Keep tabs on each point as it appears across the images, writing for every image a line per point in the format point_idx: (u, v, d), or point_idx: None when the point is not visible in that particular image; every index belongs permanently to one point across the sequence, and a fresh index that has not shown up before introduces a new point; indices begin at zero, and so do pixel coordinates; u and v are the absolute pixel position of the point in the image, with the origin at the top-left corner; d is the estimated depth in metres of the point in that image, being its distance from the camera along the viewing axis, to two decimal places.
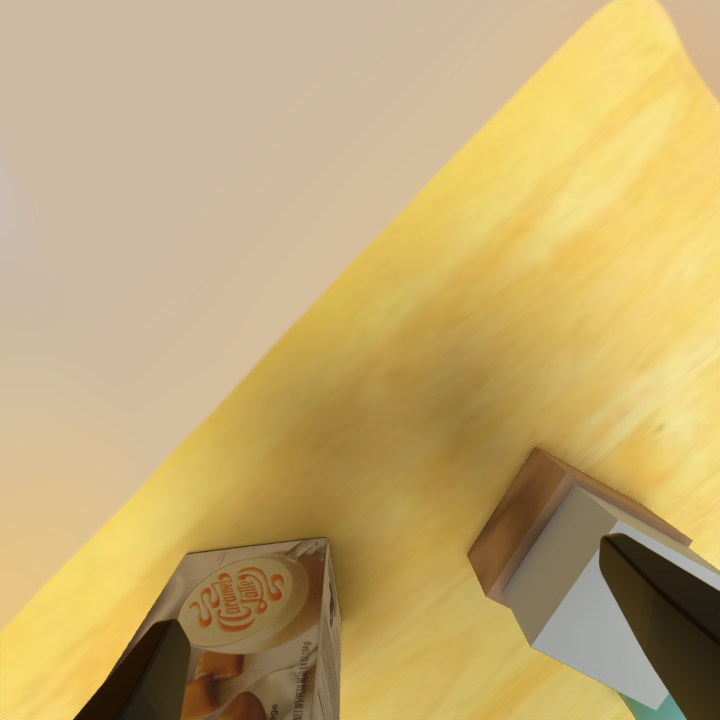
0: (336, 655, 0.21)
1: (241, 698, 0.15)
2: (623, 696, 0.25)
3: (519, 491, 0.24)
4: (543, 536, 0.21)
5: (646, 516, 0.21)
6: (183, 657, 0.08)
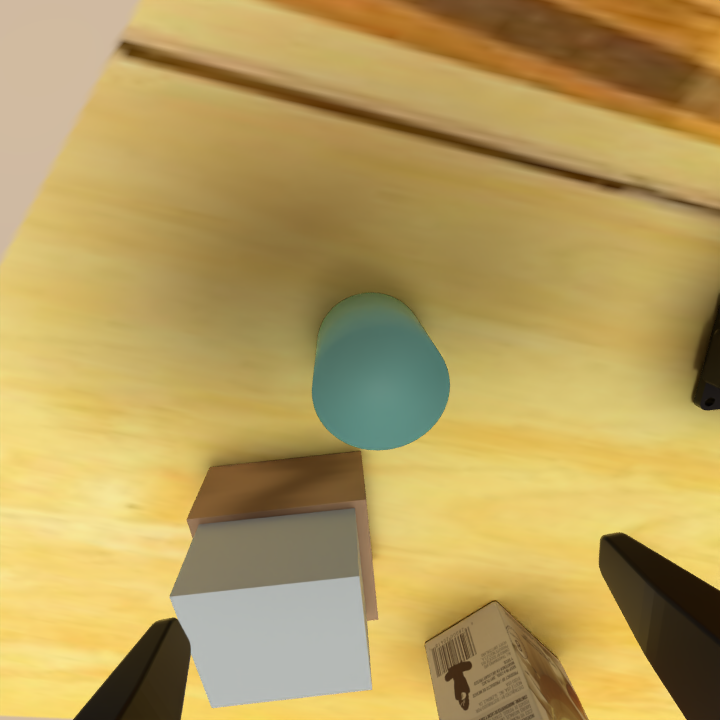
0: (493, 686, 0.23)
1: None
2: None
3: None
4: None
5: None
6: (183, 657, 0.08)
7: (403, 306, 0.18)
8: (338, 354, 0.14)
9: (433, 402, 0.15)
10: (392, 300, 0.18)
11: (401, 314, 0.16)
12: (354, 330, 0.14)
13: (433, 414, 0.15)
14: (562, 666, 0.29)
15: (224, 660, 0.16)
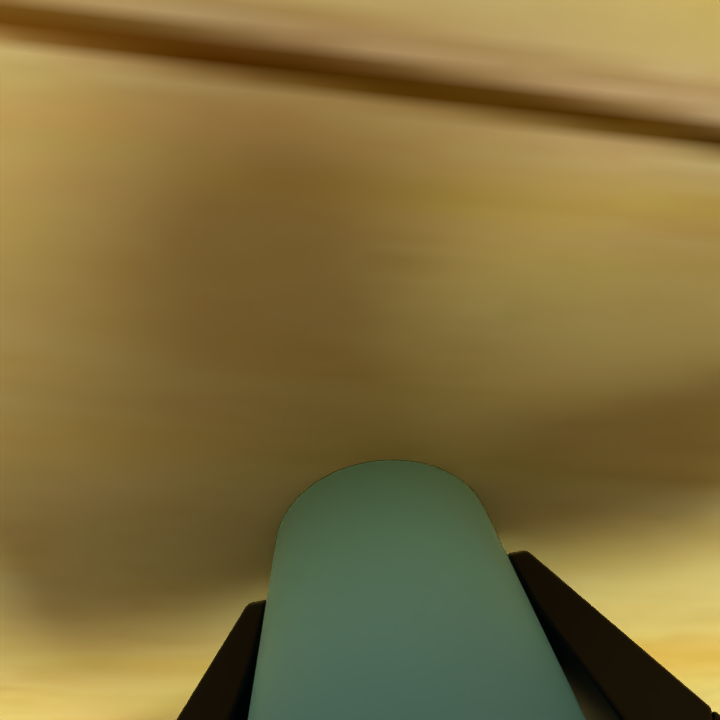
0: None
1: None
2: None
3: None
4: None
5: None
6: None
7: (452, 502, 0.08)
8: None
9: None
10: (425, 488, 0.08)
11: (462, 591, 0.06)
12: None
13: None
14: None
15: None
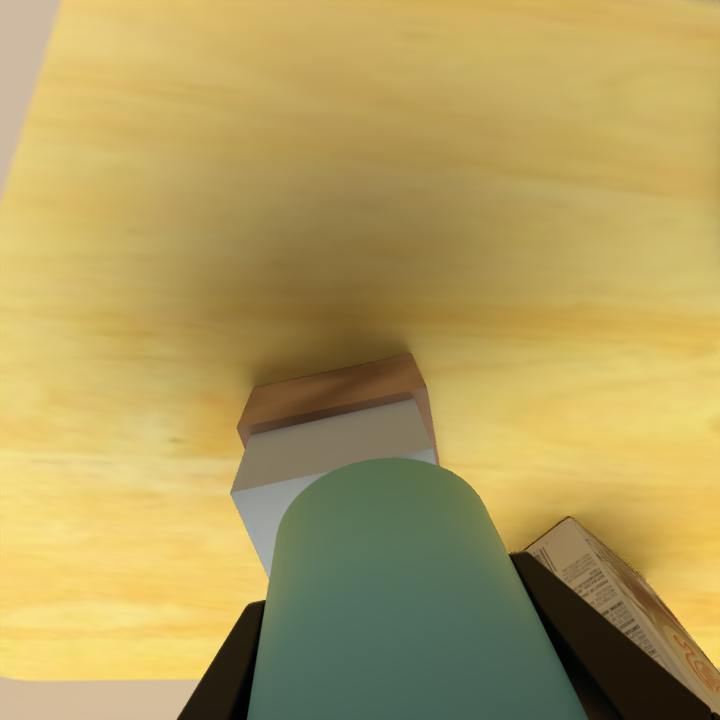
0: None
1: None
2: None
3: None
4: None
5: None
6: None
7: (452, 499, 0.08)
8: None
9: None
10: (425, 485, 0.08)
11: (462, 587, 0.06)
12: None
13: None
14: (650, 586, 0.26)
15: None
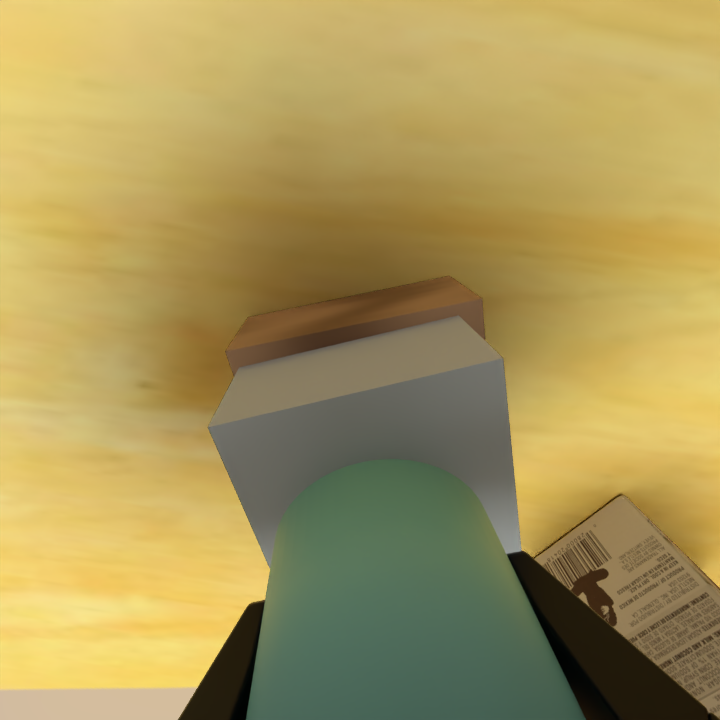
0: (650, 591, 0.17)
1: None
2: None
3: None
4: None
5: None
6: None
7: (451, 501, 0.08)
8: None
9: None
10: (424, 487, 0.08)
11: (461, 590, 0.06)
12: None
13: None
14: None
15: None
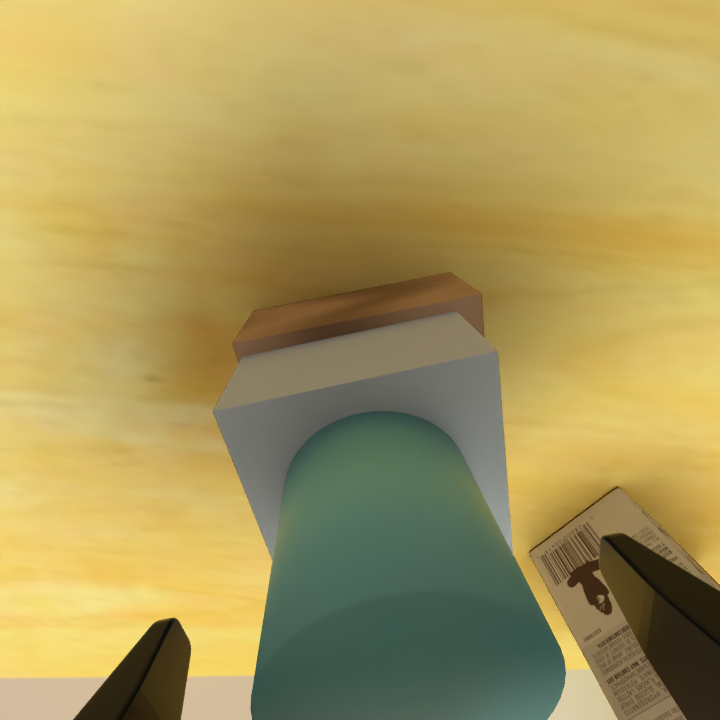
0: None
1: None
2: None
3: None
4: None
5: None
6: (183, 657, 0.08)
7: (431, 440, 0.09)
8: (298, 656, 0.06)
9: (529, 703, 0.07)
10: (410, 430, 0.09)
11: (434, 493, 0.07)
12: (330, 603, 0.06)
13: None
14: None
15: None
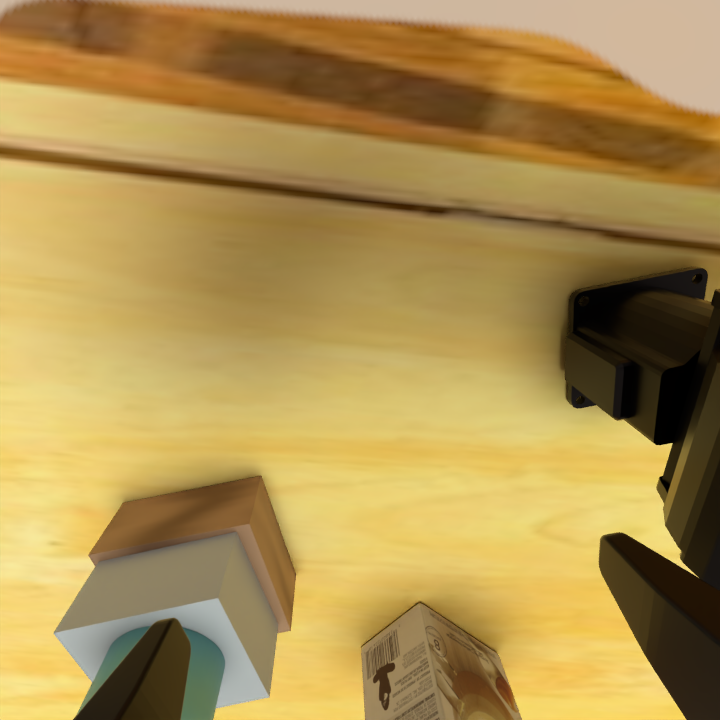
0: (409, 686, 0.24)
1: None
2: None
3: None
4: None
5: None
6: (183, 657, 0.08)
7: None
8: None
9: None
10: None
11: None
12: None
13: None
14: (499, 659, 0.30)
15: None
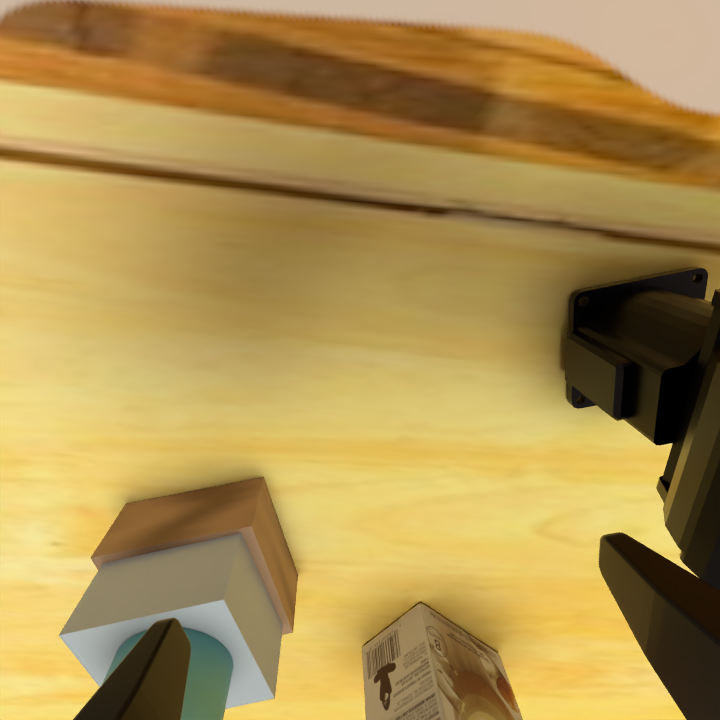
0: (410, 686, 0.24)
1: None
2: None
3: None
4: None
5: None
6: (183, 657, 0.08)
7: None
8: None
9: None
10: None
11: None
12: None
13: None
14: (500, 659, 0.30)
15: None
